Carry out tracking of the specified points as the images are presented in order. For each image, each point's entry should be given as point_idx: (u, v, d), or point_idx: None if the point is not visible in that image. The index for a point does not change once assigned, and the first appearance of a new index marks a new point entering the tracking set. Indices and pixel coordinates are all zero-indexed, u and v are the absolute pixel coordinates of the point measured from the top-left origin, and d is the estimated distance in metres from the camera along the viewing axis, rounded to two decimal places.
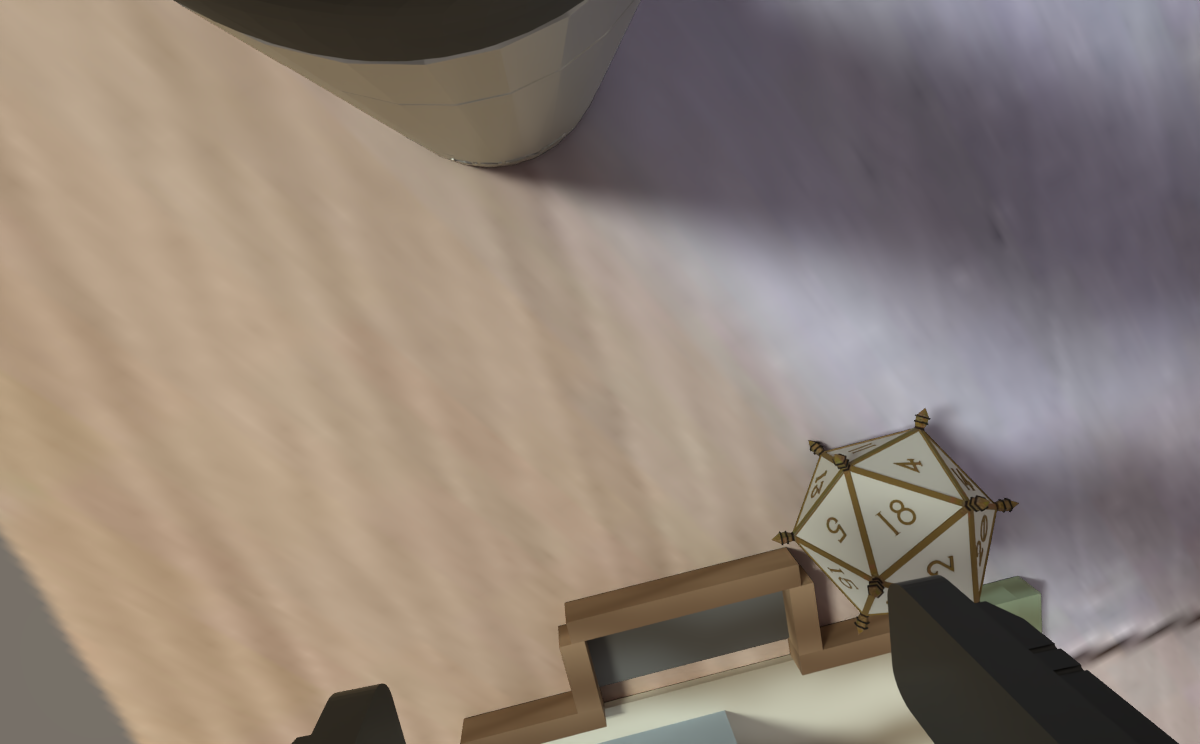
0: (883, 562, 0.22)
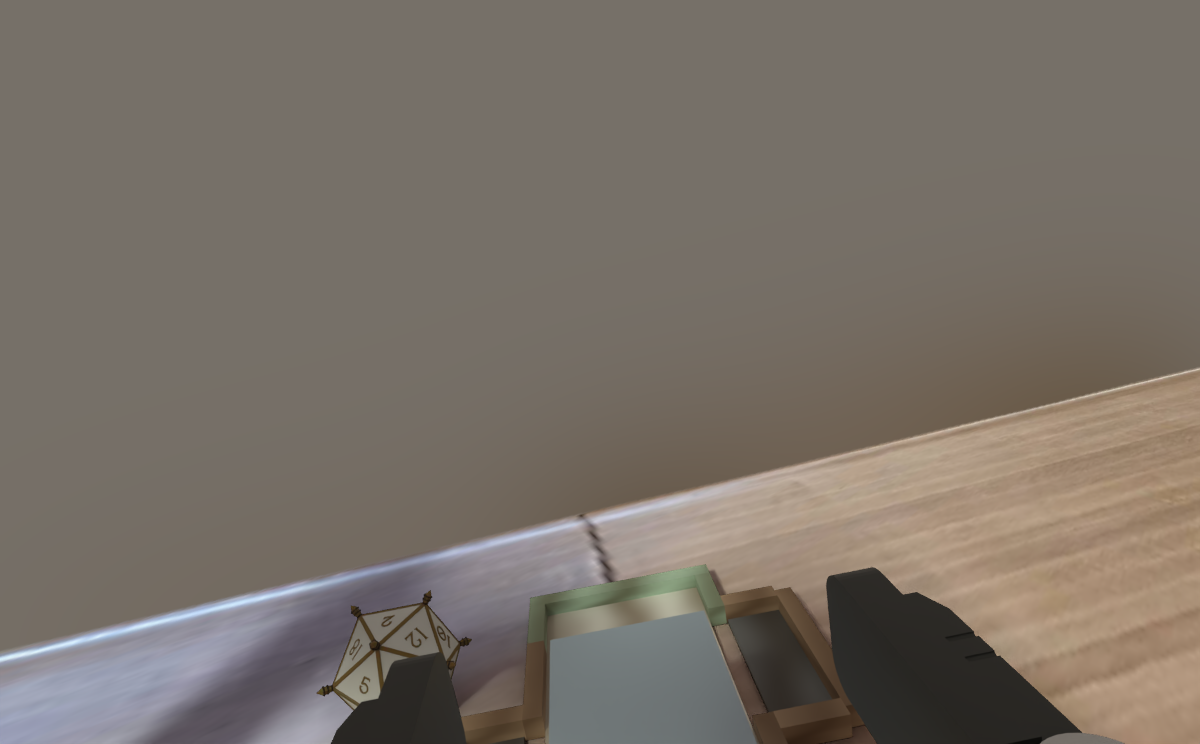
0: (370, 647, 0.37)
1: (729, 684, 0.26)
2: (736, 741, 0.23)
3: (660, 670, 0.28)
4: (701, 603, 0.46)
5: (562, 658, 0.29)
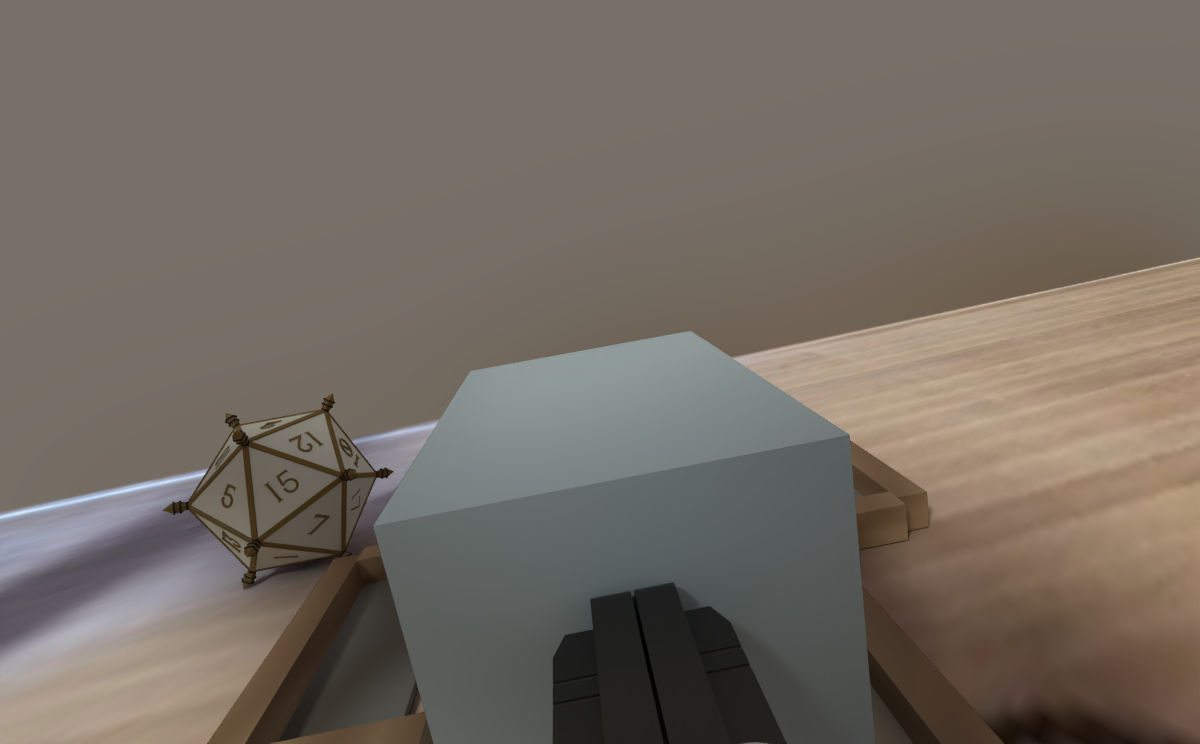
0: (237, 446, 0.27)
1: (726, 359, 0.17)
2: (737, 387, 0.14)
3: (623, 365, 0.18)
4: None
5: (483, 377, 0.20)
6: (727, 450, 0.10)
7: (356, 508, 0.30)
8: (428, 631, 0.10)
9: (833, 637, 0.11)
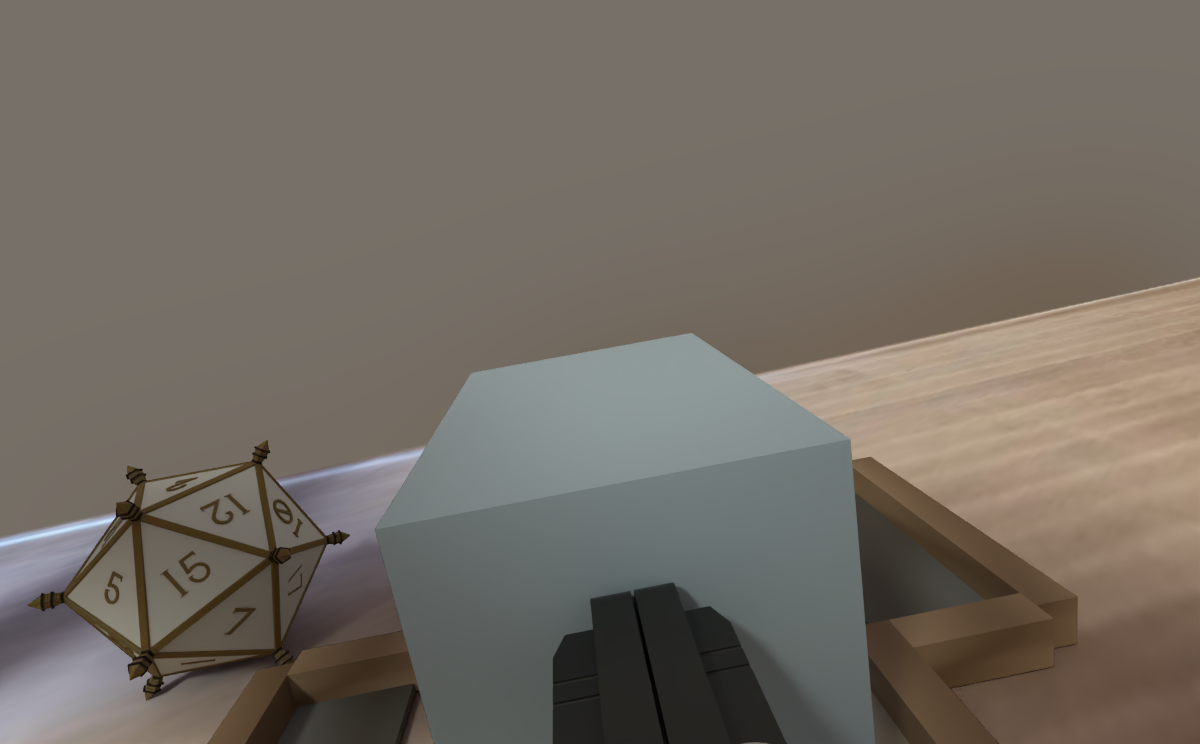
0: (128, 519, 0.20)
1: (727, 362, 0.17)
2: (738, 390, 0.14)
3: (624, 367, 0.18)
4: None
5: (484, 379, 0.20)
6: (728, 454, 0.10)
7: (296, 590, 0.23)
8: (430, 634, 0.10)
9: (834, 641, 0.11)
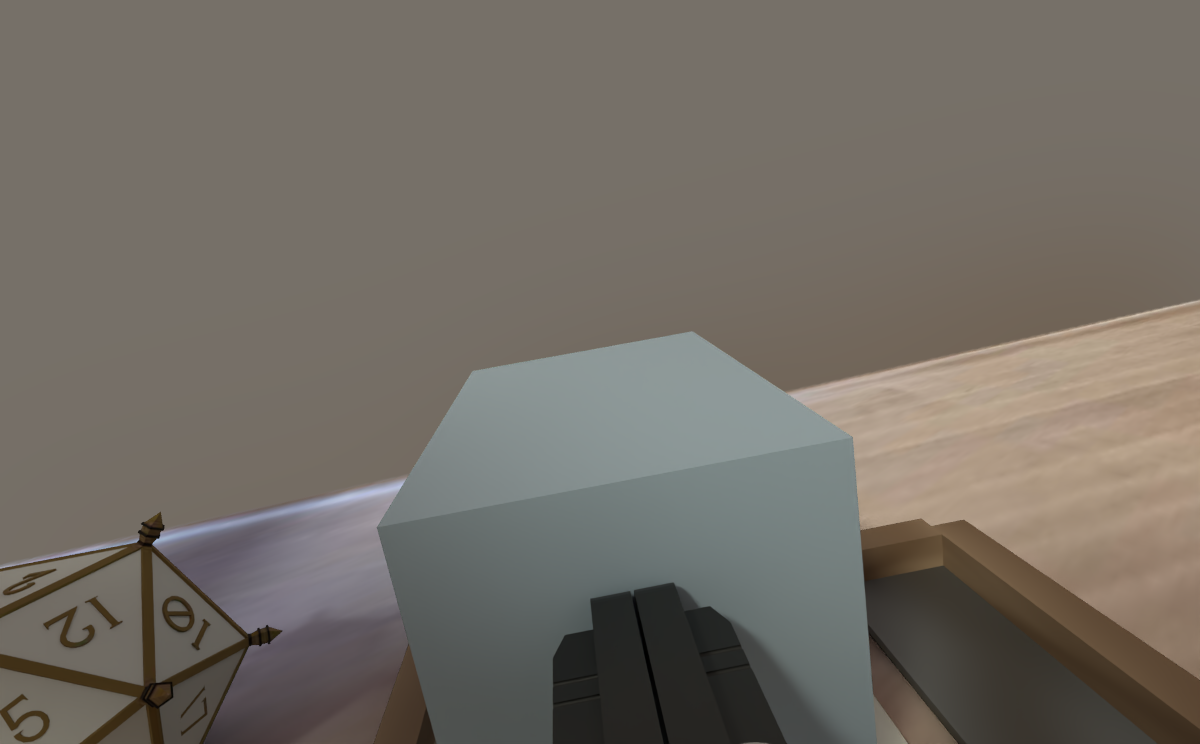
0: None
1: (729, 360, 0.17)
2: (740, 388, 0.14)
3: (625, 366, 0.18)
4: None
5: (485, 377, 0.20)
6: (731, 452, 0.10)
7: (197, 722, 0.17)
8: (432, 632, 0.10)
9: (835, 639, 0.11)
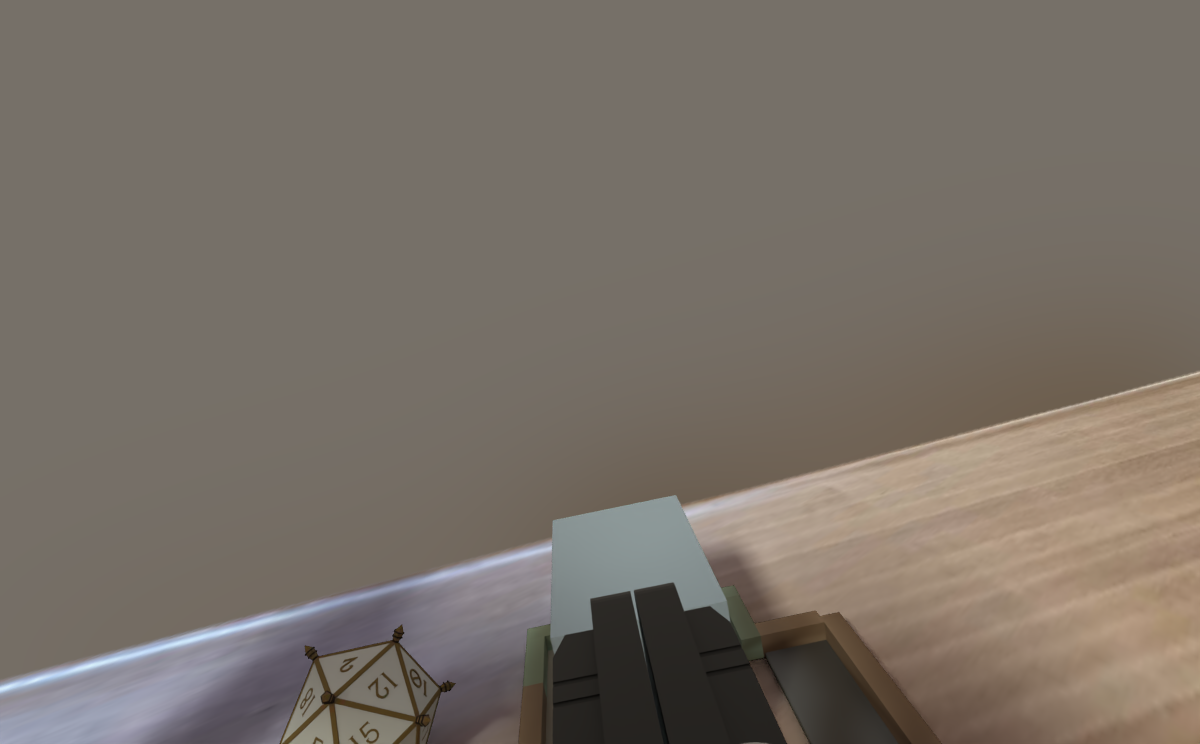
0: None
1: (690, 532, 0.34)
2: (692, 560, 0.31)
3: (638, 529, 0.35)
4: None
5: (562, 529, 0.37)
6: None
7: (425, 734, 0.32)
8: None
9: None
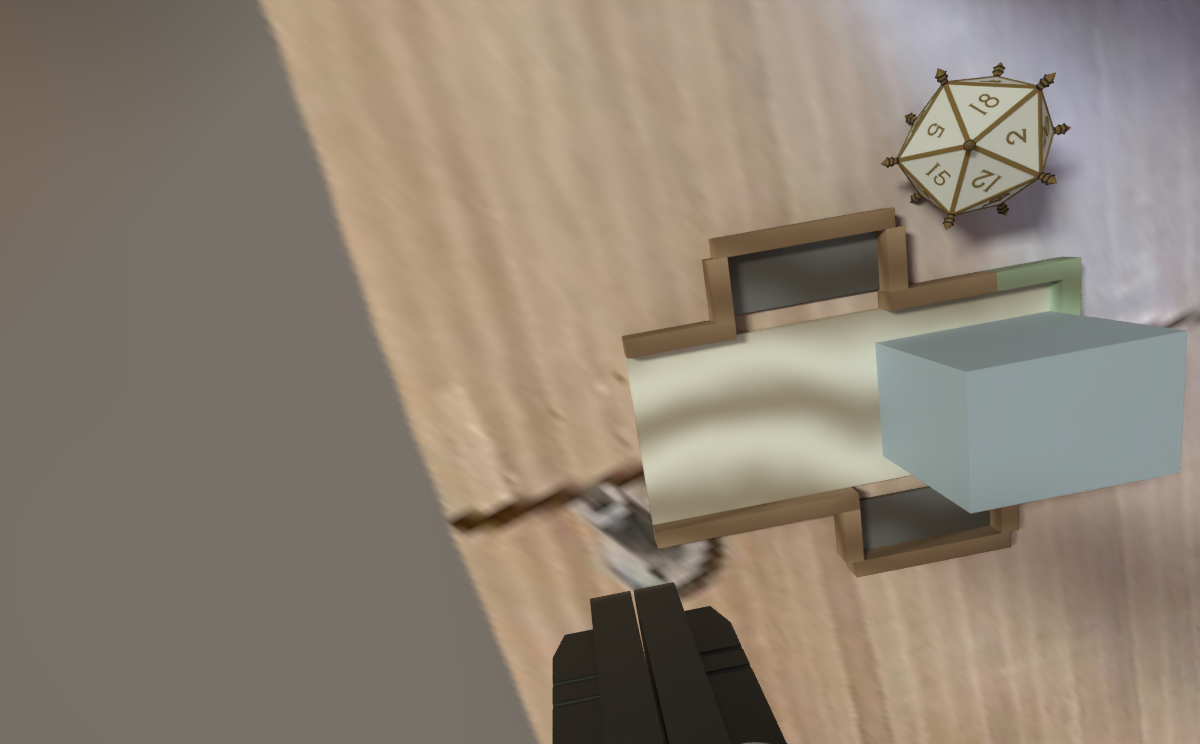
0: (974, 132, 0.31)
1: (1089, 487, 0.33)
2: (1039, 487, 0.33)
3: (1119, 435, 0.33)
4: None
5: (1158, 348, 0.32)
6: (975, 478, 0.32)
7: None
8: (941, 371, 0.33)
9: (927, 476, 0.36)
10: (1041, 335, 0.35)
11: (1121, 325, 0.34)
